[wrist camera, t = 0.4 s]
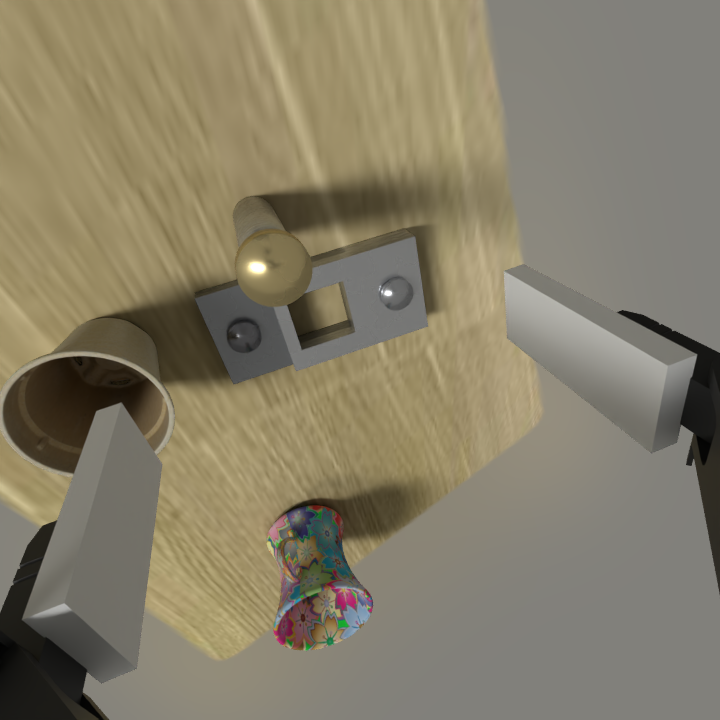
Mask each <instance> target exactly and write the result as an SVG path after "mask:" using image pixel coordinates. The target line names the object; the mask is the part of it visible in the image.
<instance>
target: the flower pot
mask: <svg viewBox="0 0 720 720" xmlns="http://www.w3.org/2000/svg"><path fill="white" fill-rule="evenodd" d="M74 356H80V358H81V361H82V364H81V365H79V364H78V362H77V361H76V359H75V357H74ZM124 380H129V382H128V383H126V384H121V385H116V384H112V383H111V382H112V381H113V382H114V381H124ZM119 403H122V404H123V406H124V407H125V409H126V410H127V412H128V413H129V415H130V416H131V418H132V419H133V421H134V422H135V424H136V425H137V427H138V428H139V430H140V431H141V433H142V434H143V436H144V437H145V439H146V440H147V442H148V443H149V445H150V446H151V448H152V449H153V451H154V452H155V454H156V455H158V454H159V453H160V452H161V451H162V449H163V448H164V447H165V446H166V444H167V443H168V441H169V439H170V437H171V435H172V432H173V429H174V422H175V412H174V406H173V402H172V399H171V397H170V395H169V393H168V391H167V389H166V388H165V386H164V385H163V384H162V382H161V378H160V371H159V363H158V353H157V349H156V346H155V344H154V342H153V340H152V339H151V337H150V336H149V335H148V334H147V333H146V332H144V331H143V330H141V329H140V328H138V327H137V326H135V325H134V324H132V323H130V322H128V321H125V320H122V319H116V318H100V319H95V320H91V321H88V322H86V323H84V324H82V325H80V326H79V327H77V328H76V329H75V330H74V331H73V332H72V333H71V334H70V335H69V336H68V337H67V338H66V339H65V340H64V341H63V342H62V343H61V344H60V345H59V346H58V347H57V348H56V349H55V350H54V351H53V352H52V353H50V354H47V355H44V356H41V357H38V358H36V359H34V360H32V361H30V362H28V363H27V364H25V365H24V366H22V367H21V368H20V369H18V370H17V371H16V372H15V373H14V374H13V375H12V376H11V377H10V378H9V379H8V381H7V382H6V383H5V385H4V386H3V388H2V389H1V392H0V431H1V433H2V434H3V436H4V438H5V440H6V441H7V442H8V444H9V445H10V447H11V448H12V449H13V450H14V451H15V452H16V453H18V454H19V455H20V456H21V457H22V458H23V459H25V460H27V461H29V462H30V463H31V464H34V465H35V466H37V467H38V468H41V469H43V470H46V471H48V472H51V473H55V474H58V475H63V476H66V477H73V475H74V472H75V469H76V467H77V464H78V461H79V458H80V455H81V453H82V450H83V447H84V444H85V441H86V439H87V436H88V433H89V430H90V428H91V425H92V422H93V419H94V416H95V414H96V411H98V410H101V409H104V408H107V407H110V406H113V405H116V404H119Z"/></svg>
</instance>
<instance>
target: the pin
mask: <svg viewBox="0 0 720 720" xmlns="http://www.w3.org/2000/svg"><path fill="white" fill-rule="evenodd" d="M233 222H234V227H235V231H236V236H237V241H238V246H239V249H238V251H237V254H236V258H235V270H236V276H237V280H238V283H239V286H240V288H241V289H242V291H243V292H244V293H245V294H246V296H248V297H249V298H250V299H251V300H253V301H254V302H256V303H258V304H261V305H264V306H269V307H280V306H285V305H288V304H290V303H292V302H294V301H296V300H297V299H299V298H300V297H301V296H302V295H303V294H304V293H305V291H306V290H307V288H308V286H309V284H310V282H311V279H312V271H313V269H312V262H311V259H310V256H309V254H308V252H307V250H306V249H305V247H304V246H303V244H302V243H301V242H300V241H299V240H298V239H297V238H296V237H295V236H294V235H292V234H290V233H288V232H286V230H285V228H284V227H283V225H282V223H281V222H280V220H279V218H278V216H277V215H276V213H275V211H274V210H273V208H272V206H271V205H270V204H269V203H268V202H267V201H266V200H264V199H262V198H260V197H256V196H250V197H246V198H244V199H242V200H241V201H239V202H238V203H237V205H236V206H235V208H234V211H233Z"/></svg>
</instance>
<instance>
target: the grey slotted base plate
mask: <svg viewBox="0 0 720 720" xmlns="http://www.w3.org/2000/svg"><path fill="white" fill-rule="evenodd" d="M310 259H311V262H312V269H313V271H312V279H311V282H310V284H309V286H308V288H307V290H306V291H305V293H307V292H311V291H314V290H317V289H320V288H323V287H326V286H329V285H333V284H336V283H339V286H340V290H341V294H342V298H343V302H344V306H345V310H346V314H347V318H348V320H347V321H344V322H341V323H338V324H335V325H332V326H329V327H326V328H323V329H320V330H317V331H314V332H311V333H308V334H305V335H302V336H299V337H297V334H296V331H295V328H294V325H293V322H292V319H291V316H290V313H289V310H288V307H287V305H285V306H280V307H269V306H264V305H261V304H258V303H256V302H254V301H253V300H251V299H250V298H249V297H248V296H246V294H245V293H244V292H243V291H242V289H241V288H240V286H239V283H238V280H235V281H232V282H228V283H225V284H222V285H219V286H215V287H212V288H209V289H206V290H202V291H199V292H196V293H195V301H196V303H197V305H198V307H199V310H200V312H201V314H202V316H203V318H204V321H205V323H206V325H207V327H208V329H209V331H210V334H211V336H212V338H213V340H214V342H215V345H216V347H217V349H218V351H219V353H220V356H221V358H222V360H223V362H224V364H225V367H226V369H227V371H228V373H229V375H230V378H231V380H232V382H233V384H236V383H239V382H242V381H245V380H248V379H251V378H254V377H257V376H260V375H263V374H266V373H269V372H272V371H275V370H278V369H281V368H283V367H286V366H289V365H292V364H294V367H295V370H296V371H298V370H301V369H304V368H307V367H310V366H313V365H316V364H319V363H322V362H325V361H328V360H331V359H333V358H336V357H339V356H342V355H345V354H348V353H351V352H354V351H357V350H360V349H363V348H366V347H369V346H372V345H375V344H378V343H380V342H383V341H386V340H389V339H392V338H395V337H398V336H401V335H404V334H407V333H410V332H413V331H416V330H419V329H422V328H424V327H427V326H428V323H427V316H426V309H425V302H424V295H423V288H422V281H421V274H420V267H419V260H418V253H417V246H416V239H415V236H414V235H413V234H411V233H410V232H408V231H407V230H405V229H401V230H397V231H394V232H391V233H388V234H384V235H381V236H378V237H375V238H371V239H368V240H365V241H362V242H358V243H355V244H352V245H349V246H345V247H342V248H339V249H336V250H332V251H329V252H326V253H323V254H319V255H316V256H313V257H310Z"/></svg>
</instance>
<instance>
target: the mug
mask: <svg viewBox="0 0 720 720" xmlns="http://www.w3.org/2000/svg"><path fill="white" fill-rule="evenodd" d="M343 530H344V524H343V521H342V518H341V517H340V515H339V514H338V513H337V512H336V511H334V510H332V509H330V508H328V507H324V506H318V505H311V506H304V507H300V508H297V509H294V510H292V511H290V512H288V513H286V514H284V515H283V516H281V517H280V518H279V519H278V520H277V521H276V522H275V523H274V524H273V525H272V527H271V528H270V530H269V532H268V535H267V547H268V550H269V552H270V553H271V554H272V555H273V556H274V558H275V560H276V562H277V564H278V567H279V571H280V577H281V595H280V603H279V608H278V612H277V616H276V619H275V622H274V635H275V637H276V639H277V641H278V642H279V643H280V644H282V645H283V646H285V647H287V648H291V649H294V650H314V649H320V648H323V647H327V646H330V645H333V644H336V643H338V642H340V641H342V640H344V639H346V638H348V637H349V636H351V635H352V634H354V633H355V632H356V631H358V630H359V629H360V628H361V627H362V625H364V624H365V622H366V621H367V620H368V618H369V616H370V615H371V612H372V608H373V600H372V597H371V595H370V594H369V592H368V591H367V590H366V589H365V588H364V587H363V586H362V585H361V584H360V582H359V581H358V580H357V579H356V577H355V576H354V574H353V573H352V571H351V569H350V568H349V566H348V563H347V561H346V559H345V556H344V552H343V547H342V535H343Z"/></svg>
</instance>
